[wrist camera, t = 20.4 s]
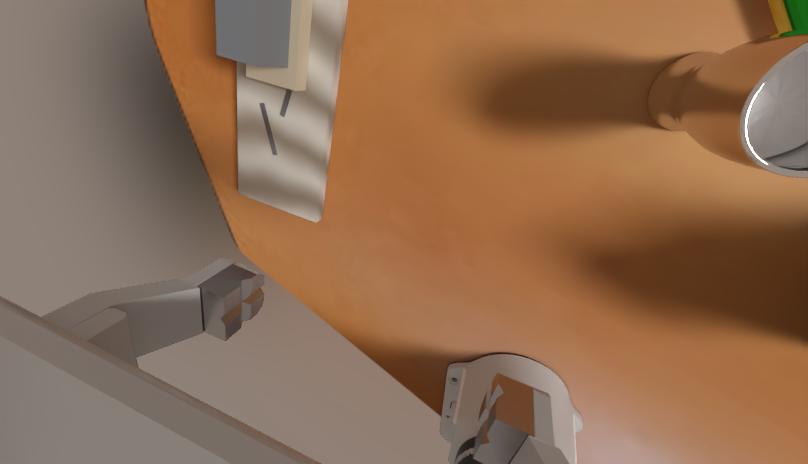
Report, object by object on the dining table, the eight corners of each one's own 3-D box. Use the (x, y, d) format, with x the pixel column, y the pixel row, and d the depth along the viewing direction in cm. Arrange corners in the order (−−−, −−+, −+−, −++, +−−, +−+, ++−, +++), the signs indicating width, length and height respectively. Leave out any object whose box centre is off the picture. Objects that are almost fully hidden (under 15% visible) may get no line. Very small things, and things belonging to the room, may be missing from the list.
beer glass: (621, 109, 30) (697, 134, 17) (690, 28, 27) (851, -18, 14) (689, 151, 30) (819, 208, 17) (768, 75, 26) (1008, 73, 13)
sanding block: (305, 90, 37) (263, 92, 31) (258, 76, 38) (208, 76, 32) (316, -46, 31) (267, -77, 25) (261, -58, 32) (200, -91, 26)
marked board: (322, 218, 45) (315, 222, 44) (246, 190, 47) (237, 193, 46) (356, -68, 31) (348, -74, 29) (245, -90, 33) (233, -97, 31)
